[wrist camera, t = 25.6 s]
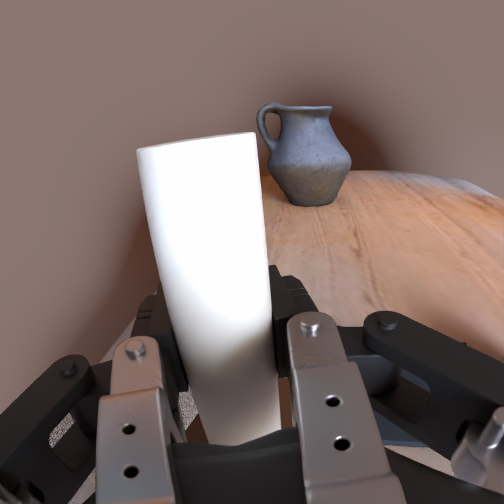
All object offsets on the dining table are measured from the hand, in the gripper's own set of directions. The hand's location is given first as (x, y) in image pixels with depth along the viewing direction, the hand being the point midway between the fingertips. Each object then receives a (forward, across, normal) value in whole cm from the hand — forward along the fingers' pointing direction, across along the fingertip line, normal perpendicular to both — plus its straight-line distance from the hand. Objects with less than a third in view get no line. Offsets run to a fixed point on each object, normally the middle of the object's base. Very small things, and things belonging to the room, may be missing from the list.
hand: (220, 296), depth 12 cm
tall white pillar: (-3, 0, +8) cm, 9 cm away
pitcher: (+65, -23, +14) cm, 70 cm away
